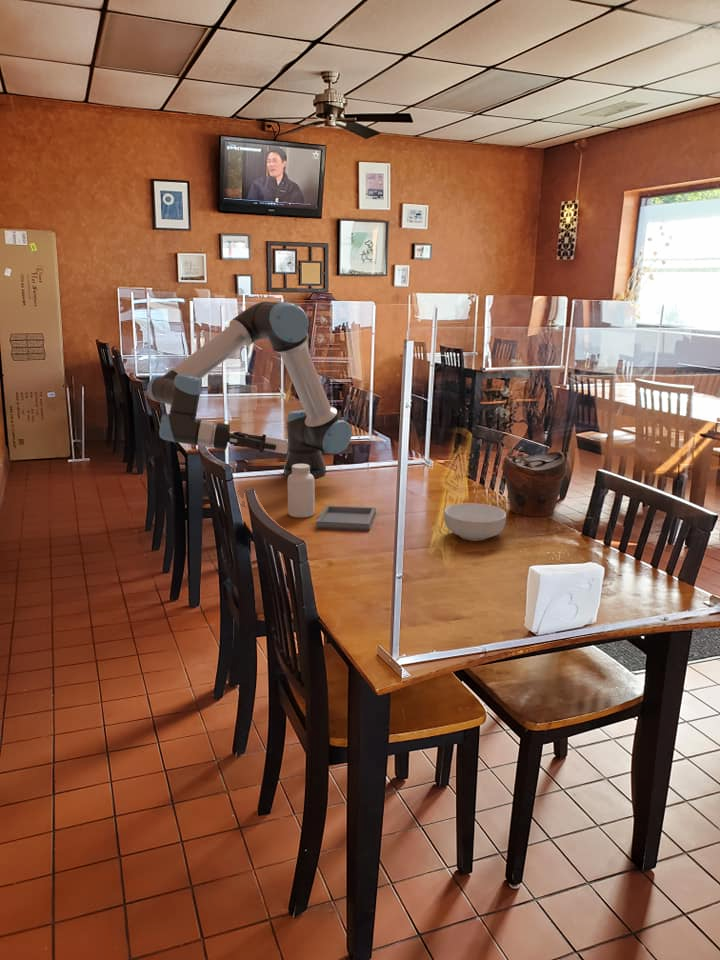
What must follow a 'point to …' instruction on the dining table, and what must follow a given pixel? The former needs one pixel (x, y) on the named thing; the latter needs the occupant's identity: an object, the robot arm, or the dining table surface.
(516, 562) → the dining table surface
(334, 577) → the dining table surface
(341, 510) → the tray
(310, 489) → the pill bottle
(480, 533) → the cereal bowl
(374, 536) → the dining table surface
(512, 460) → the brown plant pot
